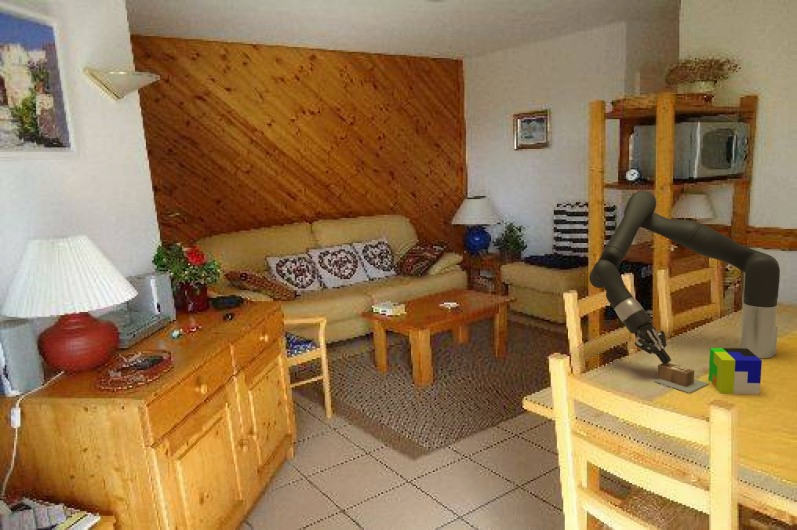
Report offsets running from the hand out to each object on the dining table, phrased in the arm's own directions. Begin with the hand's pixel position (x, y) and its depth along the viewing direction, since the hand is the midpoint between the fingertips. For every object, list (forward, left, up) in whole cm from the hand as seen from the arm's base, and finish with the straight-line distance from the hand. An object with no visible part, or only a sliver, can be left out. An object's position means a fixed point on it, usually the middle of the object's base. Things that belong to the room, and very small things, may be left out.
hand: (667, 362), depth 168 cm
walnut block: (+1, -2, -3) cm, 3 cm away
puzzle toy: (-14, +11, -6) cm, 18 cm away
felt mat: (-2, +4, -5) cm, 7 cm away
